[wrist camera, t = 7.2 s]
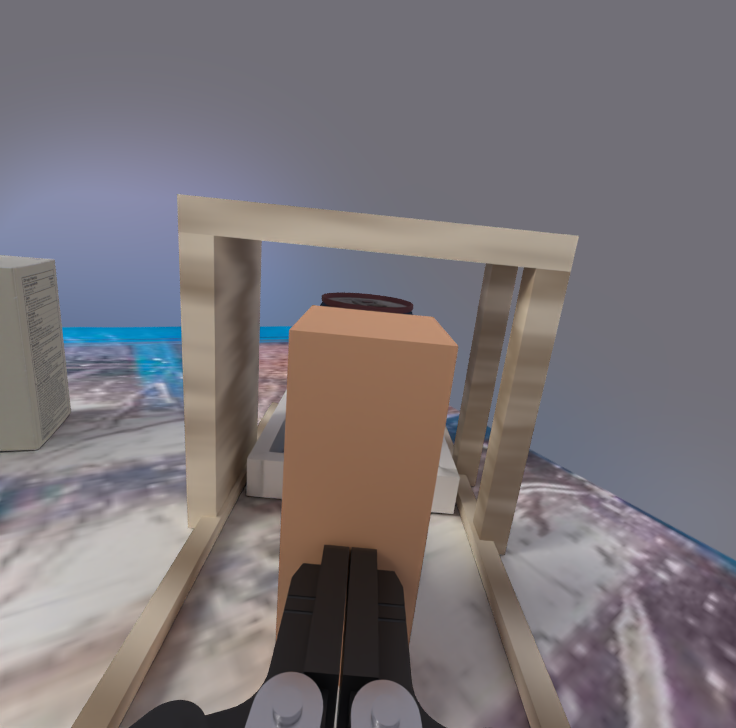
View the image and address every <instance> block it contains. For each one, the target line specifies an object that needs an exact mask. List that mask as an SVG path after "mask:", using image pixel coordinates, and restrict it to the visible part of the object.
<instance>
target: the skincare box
mask: <svg viewBox="0 0 736 728" xmlns="http://www.w3.org/2000/svg"><path fill="white" fill-rule="evenodd" d="M70 413H71V408H70V399H69V390H68V380H67V371H66V361H65V352H64V343H63V334H62V324H61V315H60V307H59V297H58V287H57V277H56V269H55V260H54V259H40V258H28V257H15V256H5V255H0V451H16V450H37V449H39V448H40V447H41V446H42V445H43V444H44V443H45V442H46V441H47V440H48V439H49V438H50V437H51V435H52V434H53V433H54V432H55V431H56V430H57V428H58V427H59V426H60V425H61V424H62V423H63V422H64V421H65V419H66V418H67V417H68V415H69V414H70Z"/></svg>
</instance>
